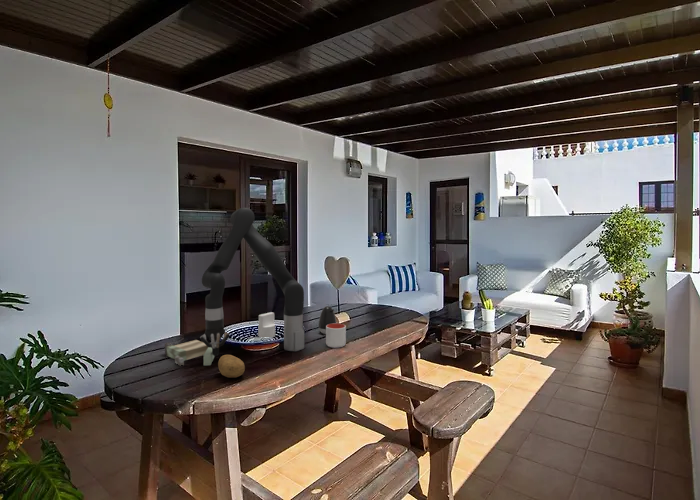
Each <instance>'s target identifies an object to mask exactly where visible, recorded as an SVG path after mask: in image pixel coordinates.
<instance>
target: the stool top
mask: <svg viewBox="0 0 700 500" xmlns="http://www.w3.org/2000/svg"><path fill="white" fill-rule="evenodd" d="M207 349H208V346H207V345H206V344H205V343H204V342H203V341H202V340H201V341H200V340H198V339H194V340H190V341H185V342H182V343H178V344H174V345H173V344H172V342H165V343H164V355H165V356H166V357H169V358H171V359H174V364H175V363H176V365H177V364H178V366H180V367H182V366H181V365H183V366H185V361H188V360H191V359H194V358H195V359H196V358H198V357H202V356H204V354H205V352H206V350H207Z"/></svg>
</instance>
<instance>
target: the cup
mask: <svg viewBox="0 0 700 500" xmlns="http://www.w3.org/2000/svg"><path fill="white" fill-rule="evenodd" d="M346 329H347V325H345V324H343V323H337V322H336V323H333V324H328V325H326V334H325V344H326V346H327V347H329V348H333V349H334V348H335V349H337V348H338V349H339V348H342V347H344V346H345V345H346V342H347V341H346V340H347V333H346V332H347V330H346Z"/></svg>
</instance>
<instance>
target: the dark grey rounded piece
mask: <svg viewBox="0 0 700 500" xmlns="http://www.w3.org/2000/svg"><path fill="white" fill-rule="evenodd" d="M333 323H337V319H336V314H335V310H334V308H332V306H329V305H327V306H324V307H323V308H322V309H321V312H320V315H319V319H318V329H319V331H320V332H321V334H324V335H326V325H328V324H333Z"/></svg>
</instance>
